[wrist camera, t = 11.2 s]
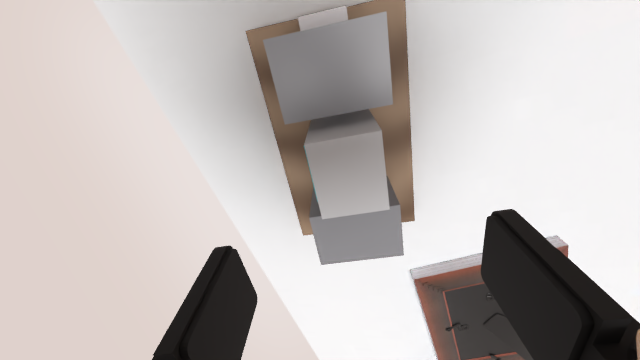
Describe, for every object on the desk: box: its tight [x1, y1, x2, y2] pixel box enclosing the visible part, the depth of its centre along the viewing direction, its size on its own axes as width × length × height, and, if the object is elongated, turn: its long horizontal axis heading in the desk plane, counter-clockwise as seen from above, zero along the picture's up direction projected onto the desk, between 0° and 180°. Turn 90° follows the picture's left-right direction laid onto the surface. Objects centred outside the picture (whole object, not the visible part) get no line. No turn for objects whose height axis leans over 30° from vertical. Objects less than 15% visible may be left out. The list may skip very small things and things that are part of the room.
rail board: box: [246, 0, 415, 235], centre depth 24 cm, size 20×12×2 cm, turn 11°
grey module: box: [304, 109, 390, 219], centre depth 20 cm, size 6×5×7 cm
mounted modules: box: [263, 11, 404, 265], centre depth 21 cm, size 18×7×5 cm, turn 11°
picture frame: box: [410, 236, 568, 360], centre depth 35 cm, size 16×2×22 cm
